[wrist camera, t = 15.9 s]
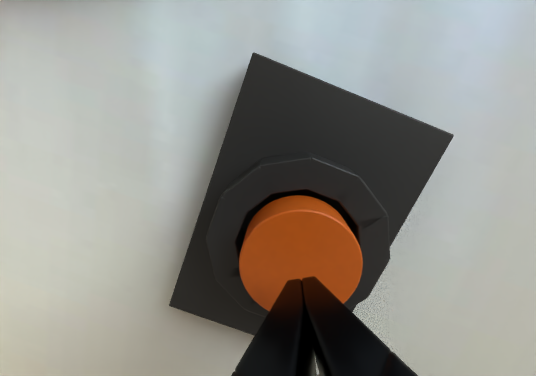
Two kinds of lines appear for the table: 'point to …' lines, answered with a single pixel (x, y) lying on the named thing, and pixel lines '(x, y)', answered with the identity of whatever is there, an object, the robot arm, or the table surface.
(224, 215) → the push button base
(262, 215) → the orange push button
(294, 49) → the table surface
